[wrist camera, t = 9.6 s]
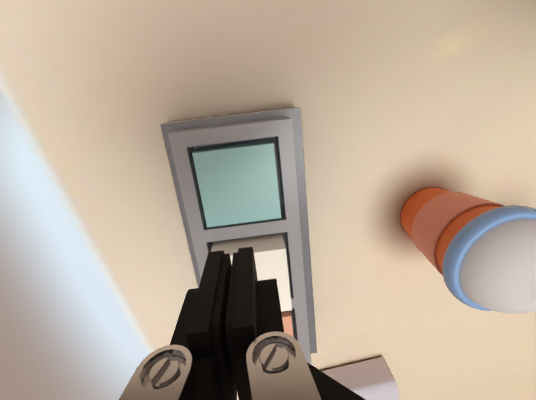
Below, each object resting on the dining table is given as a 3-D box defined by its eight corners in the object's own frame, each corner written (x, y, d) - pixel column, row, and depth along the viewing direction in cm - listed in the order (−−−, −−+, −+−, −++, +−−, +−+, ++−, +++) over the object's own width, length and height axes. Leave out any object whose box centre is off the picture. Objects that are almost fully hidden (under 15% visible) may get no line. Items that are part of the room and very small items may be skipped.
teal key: (198, 147, 25) (192, 153, 22) (270, 138, 25) (273, 143, 22) (211, 214, 27) (207, 227, 24) (277, 205, 27) (281, 217, 24)
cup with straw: (471, 231, 33) (706, 370, 16) (396, 259, 34) (547, 421, 17) (459, 160, 30) (735, 239, 13) (378, 192, 31) (540, 307, 14)
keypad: (169, 121, 27) (150, 126, 22) (294, 106, 27) (305, 108, 22) (219, 345, 36) (214, 387, 31) (311, 333, 36) (322, 371, 31)
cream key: (213, 241, 26) (209, 258, 23) (281, 232, 26) (285, 248, 23) (224, 298, 28) (221, 319, 25) (287, 289, 28) (291, 310, 26)
